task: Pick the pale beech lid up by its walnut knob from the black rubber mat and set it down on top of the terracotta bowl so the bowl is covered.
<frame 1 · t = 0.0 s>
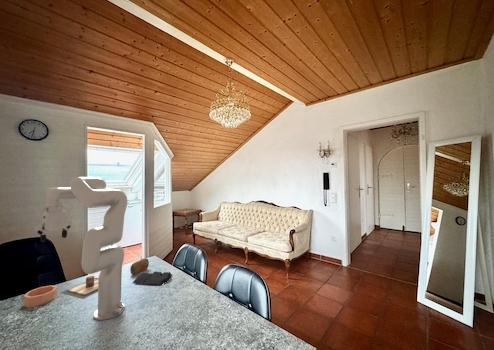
hand: (54, 239, 118), 31 cm above the table, tool pointing down, fingers open, 9 cm apart
tin: (139, 272, 147), on the table
rubber mat: (89, 288, 125), on the table
dark slate chunk: (153, 281, 135), on the table
beech lid: (89, 287, 125), resting on rubber mat
terracotta bowl: (40, 300, 112), on the table
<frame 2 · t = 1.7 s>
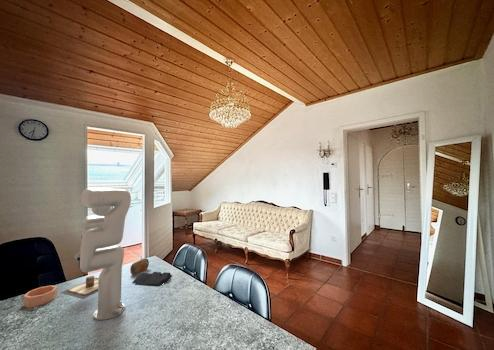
hand: (90, 264, 126), 14 cm above the table, tool pointing down, fingers open, 9 cm apart
nothing on the table moved.
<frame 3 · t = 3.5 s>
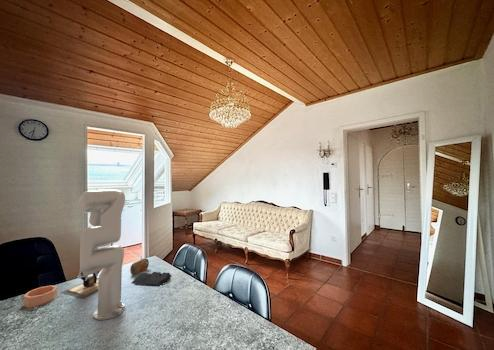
hand: (90, 284, 125), 2 cm above the table, tool pointing down, fingers closed on beech lid, 4 cm apart
beech lid: (89, 287, 125), resting on rubber mat, touching gripper
everything else where it was.
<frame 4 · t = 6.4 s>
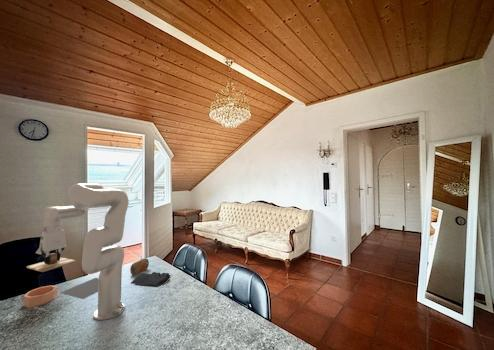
hand: (52, 261, 115), 20 cm above the table, tool pointing down, fingers closed on beech lid, 4 cm apart
beech lid: (52, 264, 115), point 18 cm above the table, touching gripper
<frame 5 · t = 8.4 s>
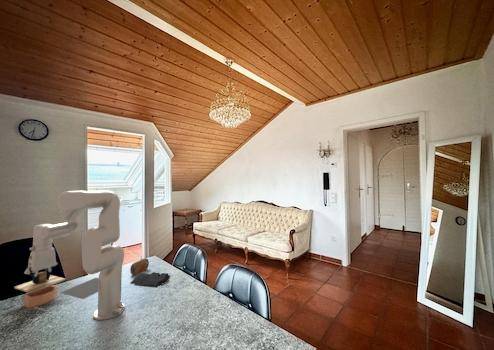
hand: (41, 281, 112), 10 cm above the table, tool pointing down, fingers closed on beech lid, 4 cm apart
beech lid: (41, 284, 112), point 9 cm above the table, touching gripper
when the fingers open (8 cm above the table, at t = 9.7 s): beech lid stays where it is, resting on terracotta bowl.
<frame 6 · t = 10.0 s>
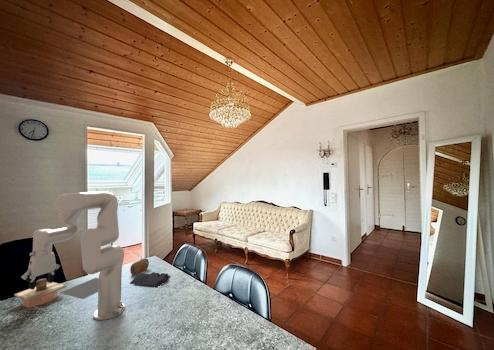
hand: (41, 285, 112), 8 cm above the table, tool pointing down, fingers open, 7 cm apart
beech lid: (41, 291, 112), point 5 cm above the table, touching terracotta bowl
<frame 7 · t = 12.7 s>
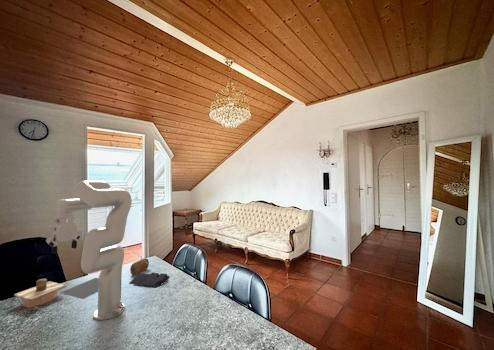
hand: (64, 250, 119), 25 cm above the table, tool pointing down, fingers open, 9 cm apart
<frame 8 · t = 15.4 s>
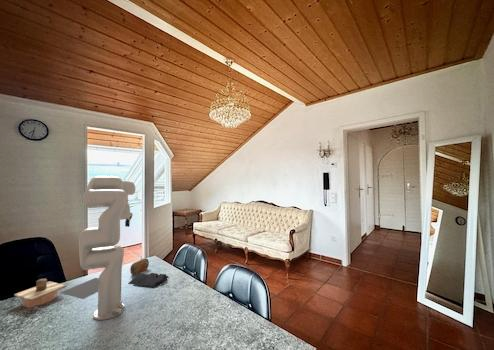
hand: (120, 227, 138), 33 cm above the table, tool pointing down, fingers open, 9 cm apart
at the end: beech lid 0.0 cm off-centre on the terracotta bowl, point 5.0 cm above the terracotta bowl's base; beech lid tilted 0°; the gripper is holding nothing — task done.
